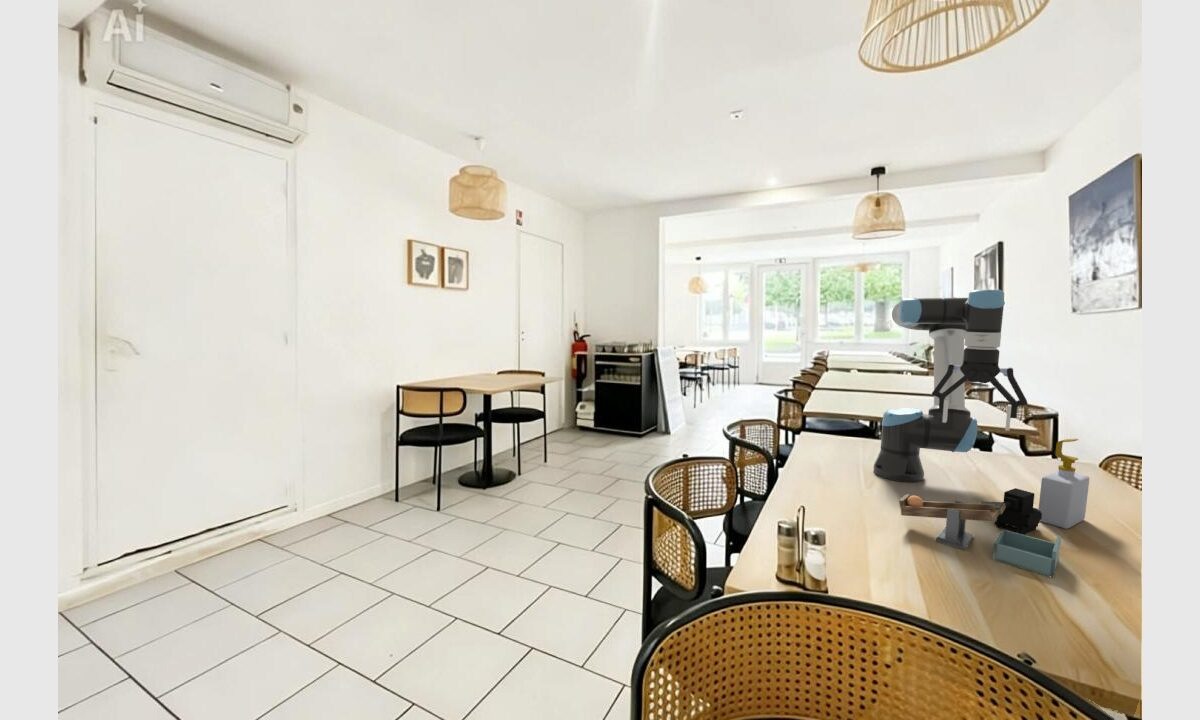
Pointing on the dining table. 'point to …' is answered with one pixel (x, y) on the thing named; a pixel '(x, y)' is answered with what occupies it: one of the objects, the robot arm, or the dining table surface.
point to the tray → (1027, 552)
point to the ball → (915, 501)
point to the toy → (1019, 511)
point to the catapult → (967, 510)
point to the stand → (955, 530)
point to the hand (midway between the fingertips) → (974, 425)
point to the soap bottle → (1064, 493)
